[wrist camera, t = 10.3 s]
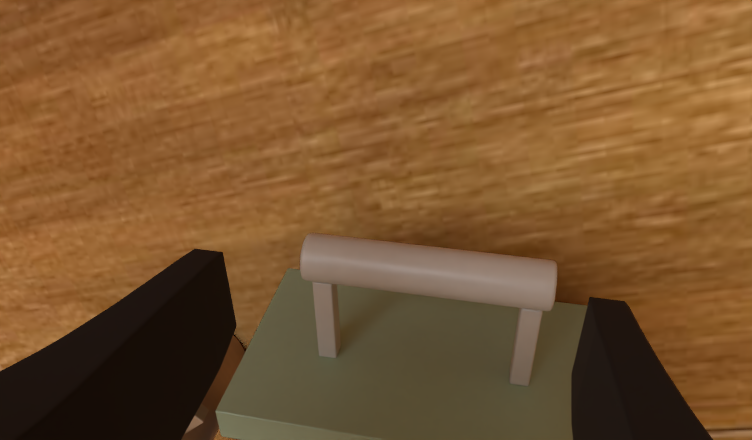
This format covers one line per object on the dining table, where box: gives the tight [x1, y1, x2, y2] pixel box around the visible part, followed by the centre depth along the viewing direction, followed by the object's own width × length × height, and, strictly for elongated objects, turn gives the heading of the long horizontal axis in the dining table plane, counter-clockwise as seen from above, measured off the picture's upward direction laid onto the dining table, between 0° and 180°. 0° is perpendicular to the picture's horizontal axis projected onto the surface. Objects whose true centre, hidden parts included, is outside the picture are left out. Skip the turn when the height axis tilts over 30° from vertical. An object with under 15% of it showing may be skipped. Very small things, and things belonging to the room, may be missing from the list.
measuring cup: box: [181, 335, 245, 440], centre depth 27 cm, size 7×5×6 cm
